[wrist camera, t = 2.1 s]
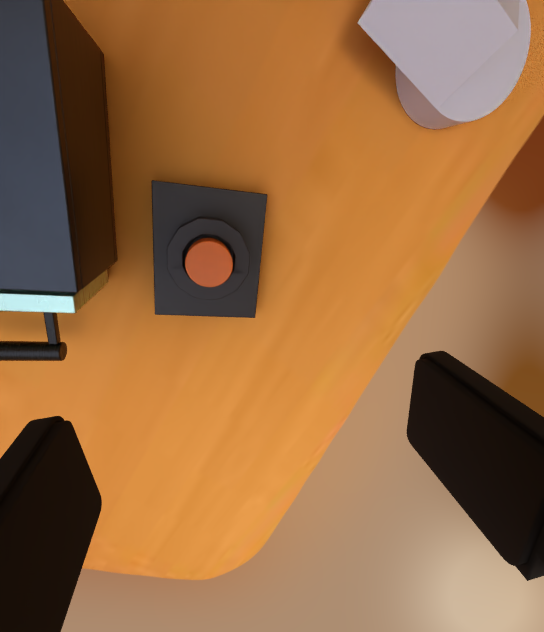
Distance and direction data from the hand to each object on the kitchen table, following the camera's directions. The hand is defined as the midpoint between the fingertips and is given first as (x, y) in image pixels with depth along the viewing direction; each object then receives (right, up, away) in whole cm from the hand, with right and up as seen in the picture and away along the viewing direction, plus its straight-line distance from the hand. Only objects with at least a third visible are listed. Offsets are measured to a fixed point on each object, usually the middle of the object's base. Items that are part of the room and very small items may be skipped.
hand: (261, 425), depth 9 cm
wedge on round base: (+13, +25, +17) cm, 33 cm away
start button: (-5, +8, +17) cm, 19 cm away
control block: (-5, +9, +19) cm, 22 cm away
